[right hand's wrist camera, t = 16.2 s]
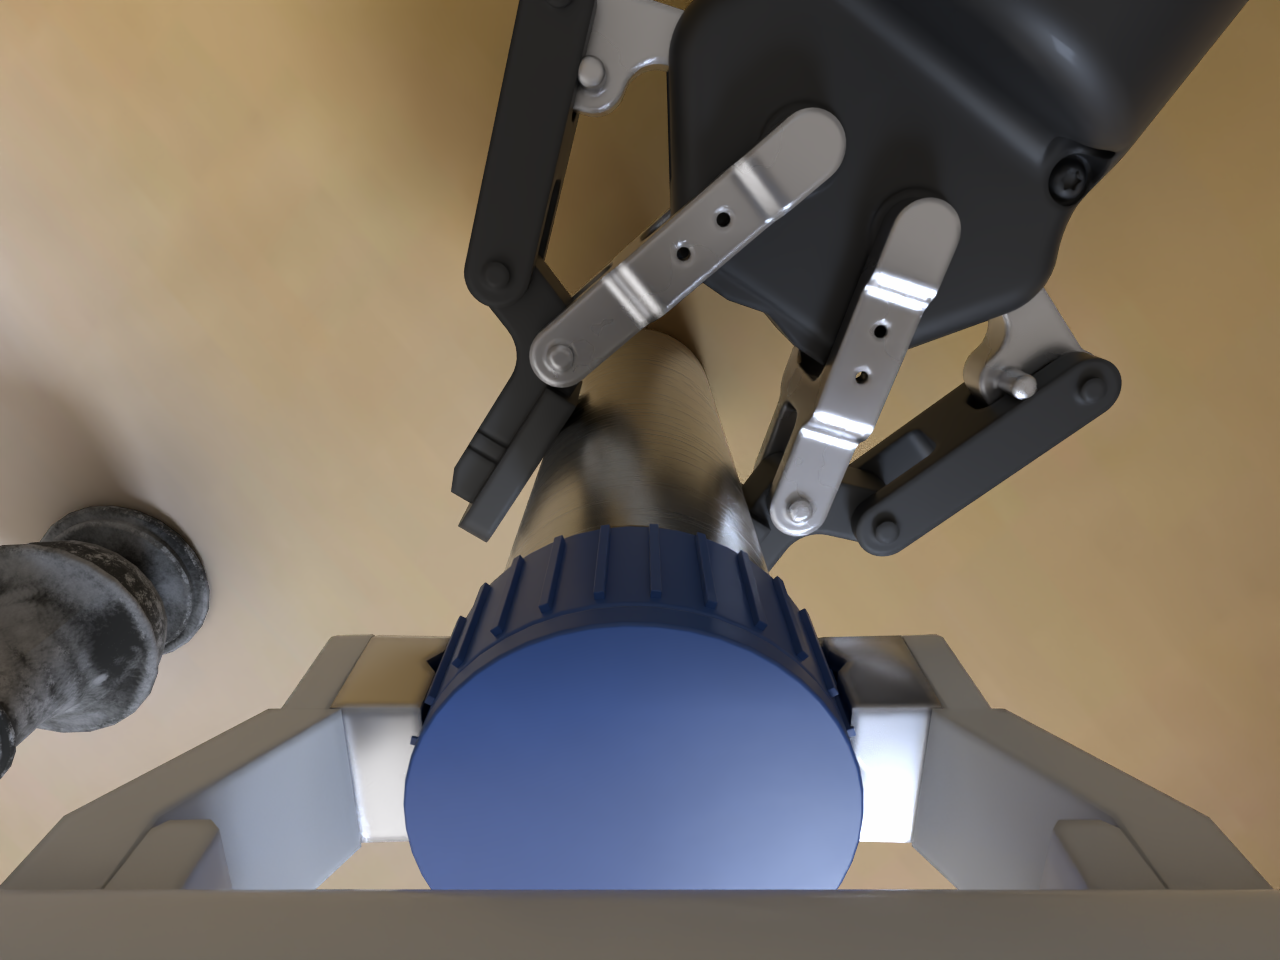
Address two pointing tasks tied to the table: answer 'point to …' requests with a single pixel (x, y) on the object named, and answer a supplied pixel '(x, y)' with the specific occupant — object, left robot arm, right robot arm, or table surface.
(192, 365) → the table surface
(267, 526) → the table surface
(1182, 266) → the table surface
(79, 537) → the grey stone tiered figure
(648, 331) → the jar
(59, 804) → the table surface
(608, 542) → the lid
